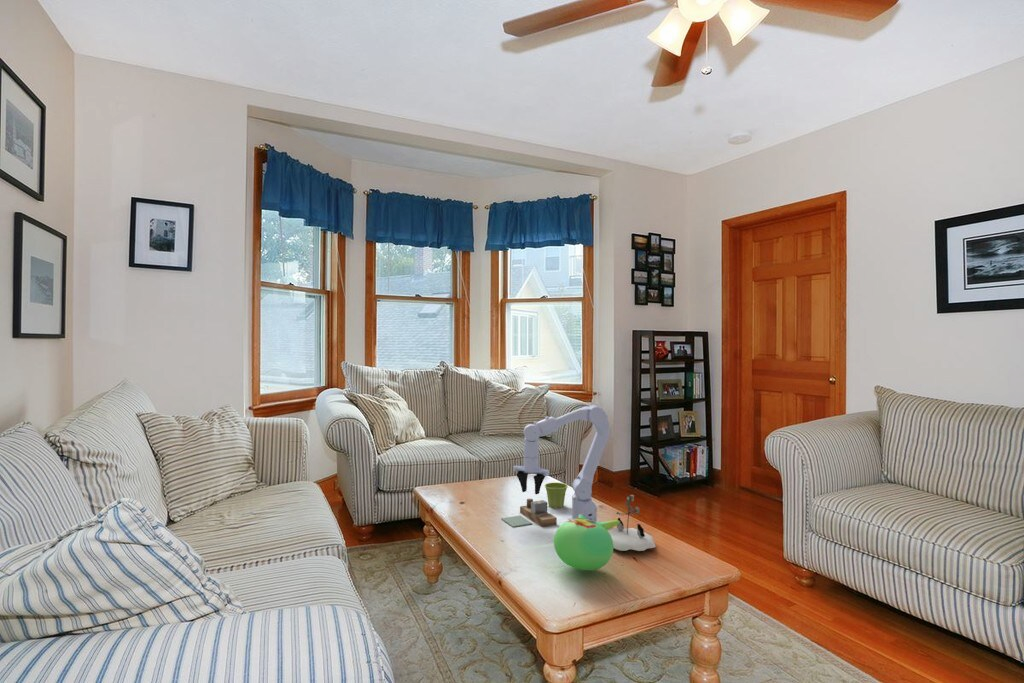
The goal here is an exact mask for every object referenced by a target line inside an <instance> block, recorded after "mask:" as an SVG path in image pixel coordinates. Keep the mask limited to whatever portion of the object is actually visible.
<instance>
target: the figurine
mask: <svg viewBox="0 0 1024 683" xmlns="http://www.w3.org/2000/svg"><path fill="white" fill-rule="evenodd" d="M634 499H635V494H630V495H629V496H626V502H625V505H626V507H627V508H628V510H627V513H625V512H624V513H621V512H619V511H616V513H615V514H616V515H619V516H621V515H622V516H627V523H626V524H627V526H626V528H625V524H624V523H623V520H621V517H619V518H617V520H619V521H620V523H619V524H618V525H616V528H610V529H609V530H607V531H608V532H609V533H610V535H611V537H612V540H613V546H614V548H613V550H614V549H615V550H617V551H621V552H622V551H623V552H624V551H628V550H633V551H638V552H641V551H643V552H644V551H645V550H647V549H654V548H656V546H657V545H656V544H655V540H654V537H653V536H652V535H650V534H648V533H647V532H645V530H644V528H643V527H642V526H641V524H639V523H637V524H636V526H637V527H636V528H633V527H630V528H629V521H630V520H629V519H630V514H634V515H635V514H638V515H639V514H640V508H639V507H638V506H635V507H632V506H631V504H630V502H634V501H635V500H634Z"/></svg>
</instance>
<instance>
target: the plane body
mask: <svg viewBox="0 0 1024 683" xmlns="http://www.w3.org/2000/svg"><path fill="white" fill-rule="evenodd" d="M531 502H534V499H533V498H527V499H526V505H521V506H520V507H519V513H520V514H522V515H523V516H525V517H526V518H527V519H529V520H531V521H533V522H534V523H536V524H538V525H539V526H540V527H542V528H543V527H549V526H550V527H551V526H555V525H558V524H557V522H558V521H557V520H558V519H557V517H556V516H555V515H553V514H551V513H549V512H548V511H547V513H543V514H537V515H535V514H533V513H531Z"/></svg>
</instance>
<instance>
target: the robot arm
mask: <svg viewBox="0 0 1024 683" xmlns="http://www.w3.org/2000/svg"><path fill="white" fill-rule="evenodd" d="M579 420H580V421H586V422H588V421H590V423H591V424H592V426H593V428H594V430H595V434H594V436H593V440H592V441H591V442H592V443H591V445H590V447H589V449H588V452H587V454H586V458H585V460H584V462H583V464H582V468H581V469H580V472H579V473H578V475H577V477H576V478H575V479H574V480H573V481H572V484H571V485H572V486H571V487H572V490H573V493H572V496H571V498H572V499H571V500H572V501H571V505H572V506H571V511H572V513H571V517H568V518H567V521H569V520H572V519H577V518H578V516H579V515H580V514H581V515H583V516H584V517H585V518H586V519H588V520H592V521H594V522H598V519H597V517H598V516H597V515H598V514H597V513H598V512H597V505H596V504H595V502H594V501H593V499H592V493H593V490H592V489H593V488H592V486H593V483H594V476H595V473H596V471H597V468H598V466H599V463H600V460H601V458H602V456H603V453H604V449H605V447H606V445H607V442H608V439H609V438H610V435H611V428H610V423H609V418H608V414H607V413H606V411H605V410H604V409H603V408H602V407H600V406H599V405H597V404H593V403H592V404H590V405H586V406H583V407H580V408H577V409H574V410H572V411H570V412H568V413H566V414H563V415H561V416H558V417H554V416H550V417H549V415H548V416H545V418H544V419H541V420H539V421H533V424H532V423H529V424H527V425H525V427H524V428H523V432H522V433H523V436H524V439H523V442H524V443H523V465H513V467H512V471H513V472H514V473H516V472H517V473H516V477H517V479H518V481H519V483H520V488H521V492H522V493H526V492H527V489H528V486H527V485H528V476H529V474H532V475H533V482H534V494H535V495H539V494H540V491H541V488H542V483H543V482H544V479H545V478H546V477H549V476H550V470H549V469H545V468H542V467H539V466H540V464H539V463H540V462H539V460H540V459H539V457H540V456H539V453H540V452H539V451H540V449H539V447H540V446H539V445H540V444H539V439H540V437H541V438H542V437H545V436H547V435H550V434H553V433H556V432H557V431H558V430H559V428H560V427H561V426H564V425H566V424H570V423H573V422H575V421H579Z"/></svg>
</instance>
